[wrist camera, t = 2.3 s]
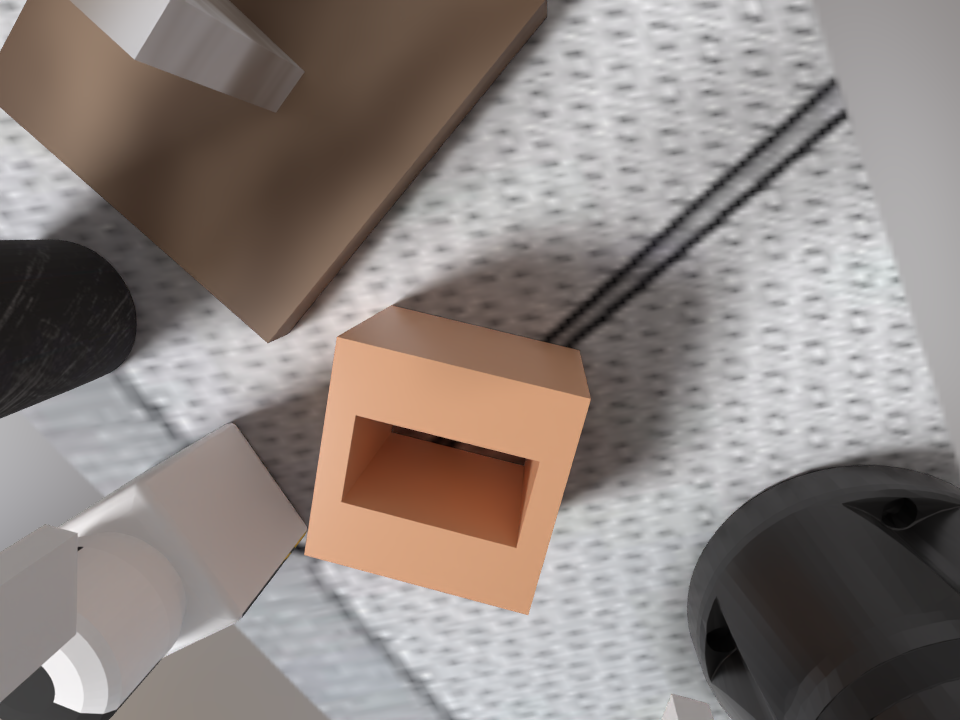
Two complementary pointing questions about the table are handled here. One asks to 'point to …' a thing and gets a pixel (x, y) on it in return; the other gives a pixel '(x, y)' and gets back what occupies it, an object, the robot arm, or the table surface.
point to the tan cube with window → (446, 455)
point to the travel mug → (58, 320)
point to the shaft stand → (255, 121)
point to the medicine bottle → (162, 573)
